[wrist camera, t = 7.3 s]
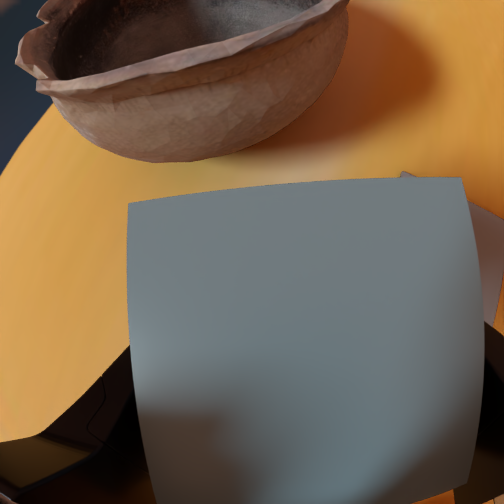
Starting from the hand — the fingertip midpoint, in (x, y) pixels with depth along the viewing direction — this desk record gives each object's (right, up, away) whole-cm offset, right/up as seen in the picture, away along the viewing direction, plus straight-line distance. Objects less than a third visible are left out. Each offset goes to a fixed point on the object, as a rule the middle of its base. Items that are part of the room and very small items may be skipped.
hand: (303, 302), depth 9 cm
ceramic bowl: (-5, +16, +17) cm, 24 cm away
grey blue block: (+1, -2, +6) cm, 6 cm away
